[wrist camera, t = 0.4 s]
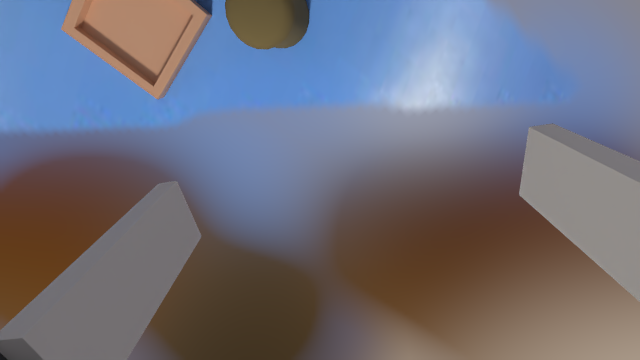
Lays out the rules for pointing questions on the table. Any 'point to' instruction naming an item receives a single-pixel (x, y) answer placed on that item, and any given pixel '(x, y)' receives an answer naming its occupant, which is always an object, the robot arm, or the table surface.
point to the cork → (268, 22)
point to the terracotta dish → (139, 36)
